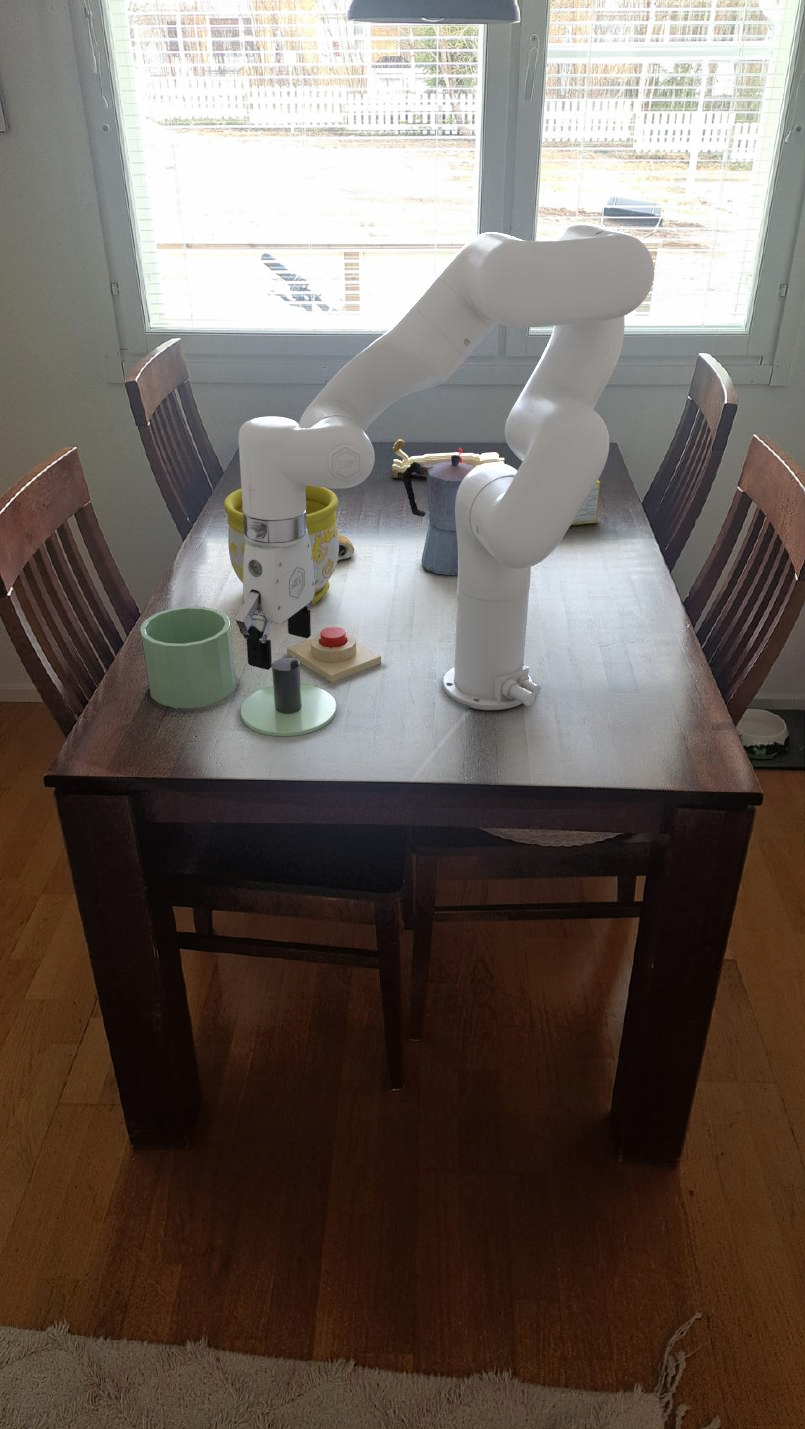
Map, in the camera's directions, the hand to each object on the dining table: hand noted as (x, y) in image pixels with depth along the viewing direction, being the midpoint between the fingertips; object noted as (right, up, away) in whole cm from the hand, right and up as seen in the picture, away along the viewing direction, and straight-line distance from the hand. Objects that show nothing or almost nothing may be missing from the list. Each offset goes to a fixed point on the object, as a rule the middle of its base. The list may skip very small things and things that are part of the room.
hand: (280, 650), depth 130 cm
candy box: (+46, +28, +65) cm, 84 cm away
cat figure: (+26, +44, +90) cm, 104 cm away
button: (+6, +2, +16) cm, 17 cm away
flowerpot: (-3, +12, +38) cm, 40 cm away
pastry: (+3, +21, +53) cm, 57 cm away
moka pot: (+23, +18, +48) cm, 56 cm away
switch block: (+6, -1, +18) cm, 19 cm away
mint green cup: (-13, -5, +11) cm, 18 cm away
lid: (+1, -8, +5) cm, 9 cm away
